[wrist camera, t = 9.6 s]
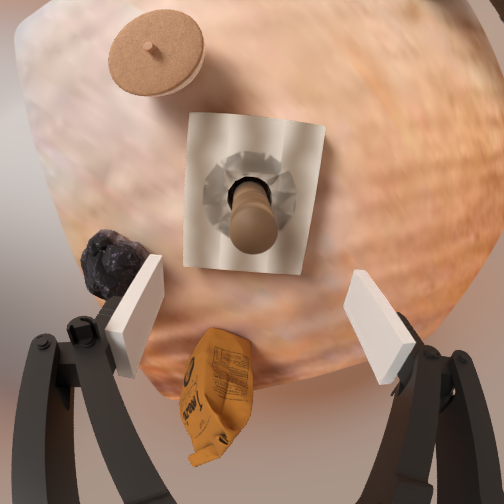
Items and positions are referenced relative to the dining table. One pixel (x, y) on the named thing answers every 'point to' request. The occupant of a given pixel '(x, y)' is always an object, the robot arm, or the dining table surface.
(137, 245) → the crystal cluster
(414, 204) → the dining table surface
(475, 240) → the dining table surface
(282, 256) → the board
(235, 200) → the peg
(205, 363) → the coffee package
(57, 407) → the robot arm
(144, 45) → the lidded jar
